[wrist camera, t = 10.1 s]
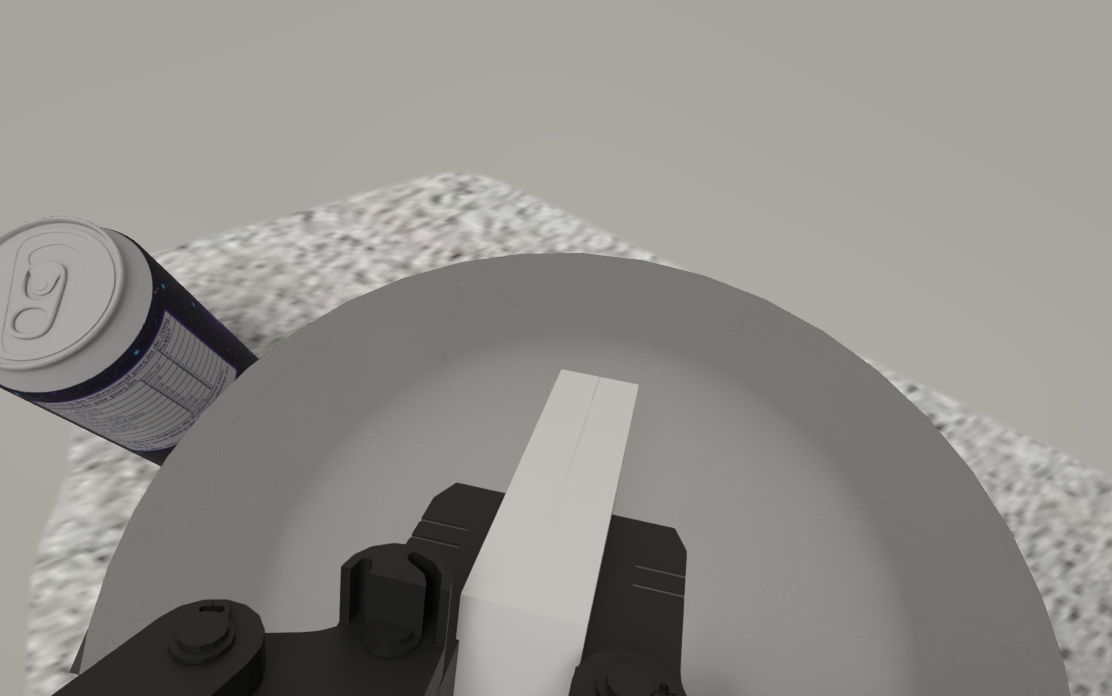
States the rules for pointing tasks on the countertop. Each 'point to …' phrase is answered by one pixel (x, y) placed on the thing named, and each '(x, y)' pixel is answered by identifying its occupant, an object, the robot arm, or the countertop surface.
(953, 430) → the countertop surface
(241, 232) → the countertop surface
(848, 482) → the lid
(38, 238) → the beverage can
